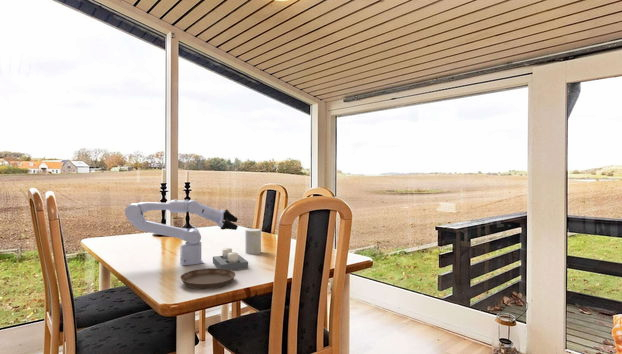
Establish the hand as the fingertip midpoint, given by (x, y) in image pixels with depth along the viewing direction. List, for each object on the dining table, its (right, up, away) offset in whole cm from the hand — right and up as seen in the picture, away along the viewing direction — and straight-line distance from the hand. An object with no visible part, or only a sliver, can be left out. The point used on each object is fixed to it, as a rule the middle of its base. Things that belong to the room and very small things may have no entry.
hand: (236, 224), depth 182 cm
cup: (+6, -17, +15) cm, 23 cm away
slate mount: (-1, -17, -12) cm, 21 cm away
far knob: (-3, -15, -8) cm, 17 cm away
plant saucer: (-4, -19, -37) cm, 42 cm away
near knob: (+1, -15, -17) cm, 22 cm away
